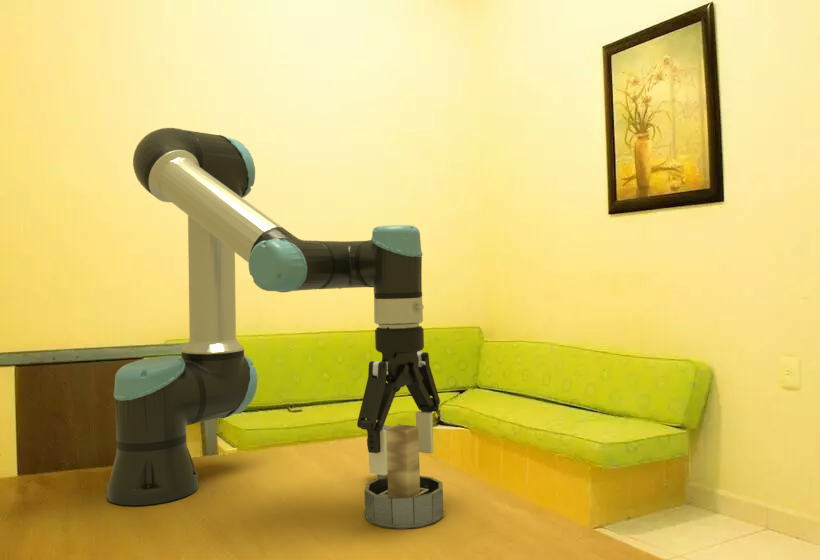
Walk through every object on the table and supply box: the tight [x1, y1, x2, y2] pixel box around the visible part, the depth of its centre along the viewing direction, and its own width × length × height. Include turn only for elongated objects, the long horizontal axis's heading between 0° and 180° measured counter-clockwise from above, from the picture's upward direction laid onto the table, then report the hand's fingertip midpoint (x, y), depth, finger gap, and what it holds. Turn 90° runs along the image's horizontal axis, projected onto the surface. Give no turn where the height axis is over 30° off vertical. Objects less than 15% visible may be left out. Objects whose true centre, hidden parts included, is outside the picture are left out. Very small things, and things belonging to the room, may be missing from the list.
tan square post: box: [386, 424, 421, 497], centre depth 111 cm, size 4×4×13 cm
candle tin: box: [363, 475, 444, 530], centre depth 111 cm, size 12×12×4 cm
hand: (402, 462), depth 111 cm, fingers open, 13 cm apart
